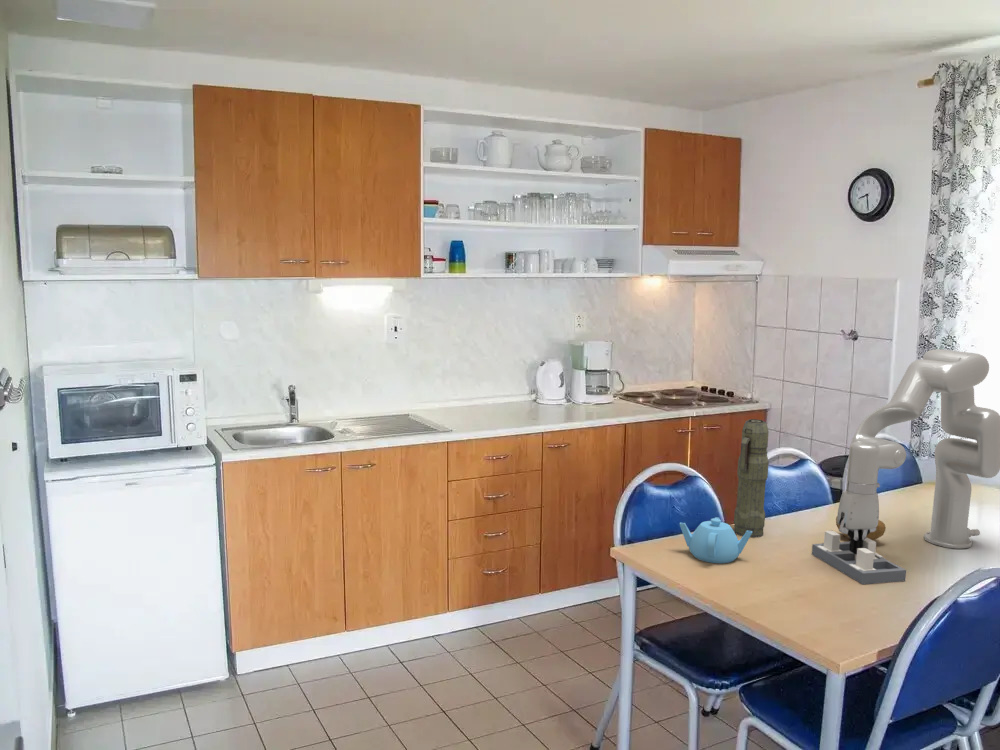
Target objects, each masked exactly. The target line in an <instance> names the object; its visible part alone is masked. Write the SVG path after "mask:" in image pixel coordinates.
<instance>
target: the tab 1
mask: <svg viewBox="0 0 1000 750" xmlns="http://www.w3.org/2000/svg"><path fill="white" fill-rule="evenodd" d="M840 542H841V534H840V533H837V532H836V531H833V530H824V539H823V543H824V546H822V547H824V548H825V549H827V550H828V551H829V552H837V551H842V550H840V549H839V545H840Z"/></svg>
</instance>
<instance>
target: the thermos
mask: <svg viewBox="0 0 1000 750" xmlns="http://www.w3.org/2000/svg"><path fill="white" fill-rule="evenodd" d="M769 431H770V430H769V428H768V424H767V422H766V421H764V420H763V419H756V418H755V419H754V418H751V419H747V420H745V421H744V425H743V427H742V429H741V441H740V442H741V444H740V454H739V456H738V460H737V473H736V475H737V478H738V481H737V482H738V484H737V496H736V498H737V500H736V507H735V509H734V516H733V524H734V526H733V528H734V529H733V531H734V533H735V535H738V536H740V537H743V536H744V534H745V533H746V531H747V530H748V531H752V534H751V536H750V538H760V537H762V536H764V528H765V525H766V523H765V521H766V511H765V508H764V507H765V496H766V495H765V494H766V482H767V480H768V475H769V458H768V447H769V446H768V444H769V433H770V432H769Z"/></svg>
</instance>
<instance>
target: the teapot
mask: <svg viewBox="0 0 1000 750" xmlns="http://www.w3.org/2000/svg"><path fill="white" fill-rule="evenodd" d="M679 528H680V529H681V532H682V535H683V538H684V541H685V543H686V546H687V547H688V549H689V552H690V553H691V554H692V556H693V557H694V558H696V559H697V560H700V561H702V562H705V563H710V564H711V563H712V564H729V563H732V562H734V561H735V560H736V559H737V558H738V557H739V556H740V554H742V552H743V550H744V548H745V546H746V545H747V543H748V542H749V539H750V538H751V537H750V536H751V534H752V531H748V530H747V531H746V533H745V534H744V536H741V538H740V539H739V540H738V537H737V534H736V533H735V532H734V529H733V528H732V526H731V525H730V524H729V523H726V522H723V521H722V519H720V517H717V516H716V517H714V518H710V520H706V521H702V522H701V523H699V525H698V526H697V527H696V528H695V530H694V531H693V533H691V531H690V529H689V527H688V526H687V524H686V522H679Z"/></svg>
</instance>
